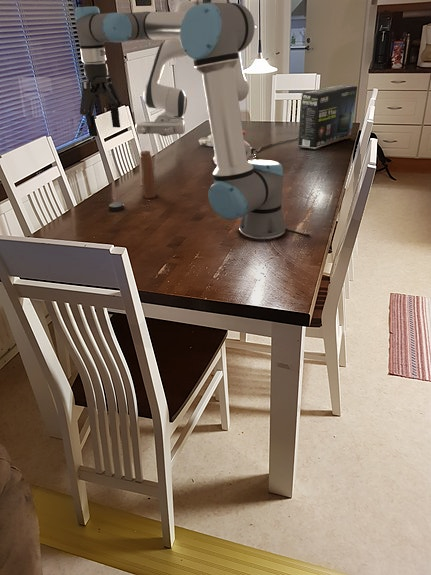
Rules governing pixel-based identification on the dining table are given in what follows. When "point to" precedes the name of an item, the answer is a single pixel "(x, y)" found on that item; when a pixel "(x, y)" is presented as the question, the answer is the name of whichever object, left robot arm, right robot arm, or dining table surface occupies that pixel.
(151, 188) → the jar
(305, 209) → the dining table surface
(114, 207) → the lid
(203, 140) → the fossil
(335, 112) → the router box
